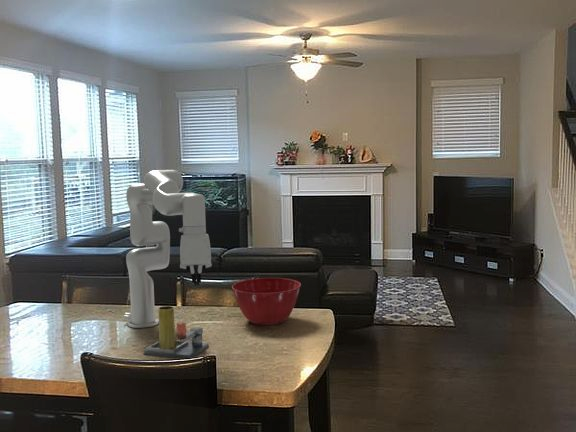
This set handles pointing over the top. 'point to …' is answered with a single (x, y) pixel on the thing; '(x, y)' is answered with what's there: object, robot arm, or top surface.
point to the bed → (179, 348)
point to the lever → (182, 333)
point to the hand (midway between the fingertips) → (196, 284)
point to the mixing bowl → (266, 299)
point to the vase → (166, 328)
